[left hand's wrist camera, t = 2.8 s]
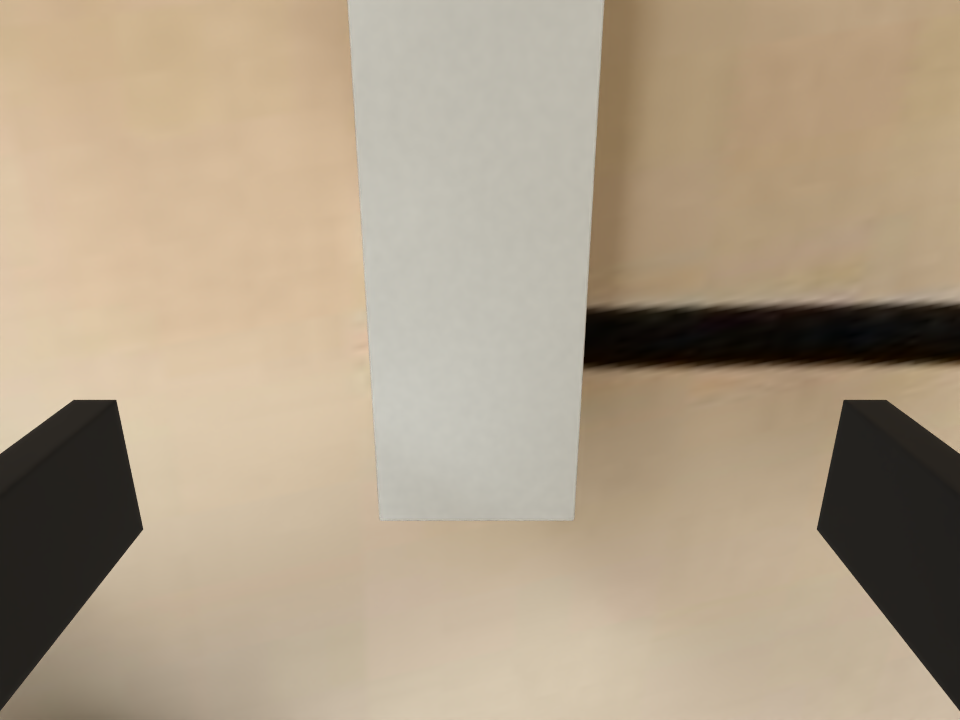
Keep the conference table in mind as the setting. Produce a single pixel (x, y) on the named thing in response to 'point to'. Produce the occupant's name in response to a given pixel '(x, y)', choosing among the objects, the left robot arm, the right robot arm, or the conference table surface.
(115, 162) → the conference table surface
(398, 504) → the post
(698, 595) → the conference table surface
